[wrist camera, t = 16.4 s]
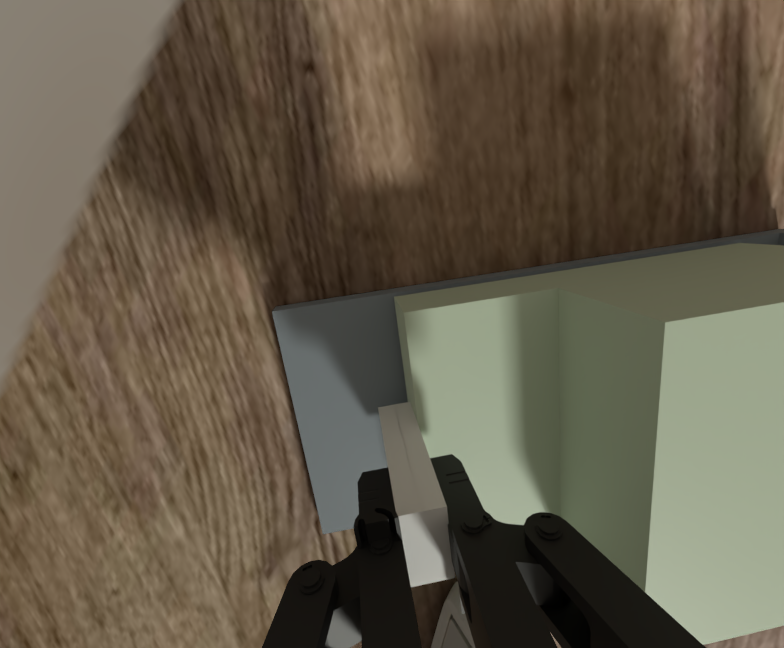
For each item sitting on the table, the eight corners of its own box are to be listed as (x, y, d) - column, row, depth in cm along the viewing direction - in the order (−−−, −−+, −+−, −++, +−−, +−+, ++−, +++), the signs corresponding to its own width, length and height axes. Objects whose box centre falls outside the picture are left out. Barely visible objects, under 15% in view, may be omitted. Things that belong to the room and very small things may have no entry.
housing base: (324, 520, 21) (307, 743, 12) (275, 306, 18) (202, 397, 9) (747, 435, 23) (1003, 573, 14) (779, 229, 20) (1146, 237, 11)
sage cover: (423, 518, 20) (470, 701, 13) (393, 296, 17) (433, 361, 9) (712, 459, 21) (916, 593, 14) (739, 243, 18) (1029, 260, 10)
